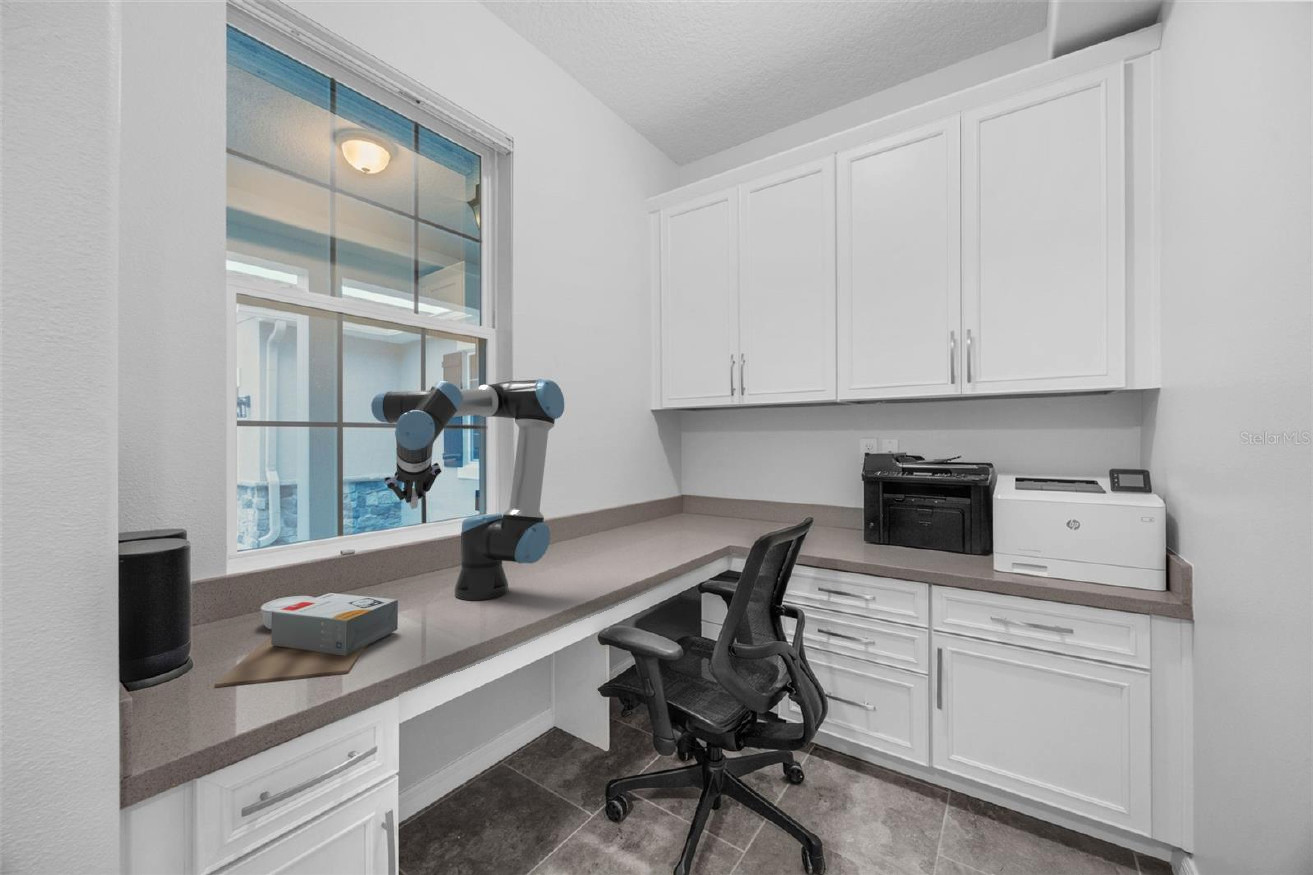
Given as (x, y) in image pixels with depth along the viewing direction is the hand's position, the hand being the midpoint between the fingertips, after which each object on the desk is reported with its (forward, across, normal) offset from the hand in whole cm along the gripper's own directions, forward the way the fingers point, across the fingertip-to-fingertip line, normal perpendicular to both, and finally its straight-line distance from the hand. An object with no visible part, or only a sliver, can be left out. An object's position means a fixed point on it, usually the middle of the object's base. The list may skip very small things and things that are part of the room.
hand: (412, 504), depth 139 cm
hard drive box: (-6, -18, -28) cm, 34 cm away
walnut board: (-3, -31, -27) cm, 41 cm away
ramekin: (+17, -34, -13) cm, 40 cm away
